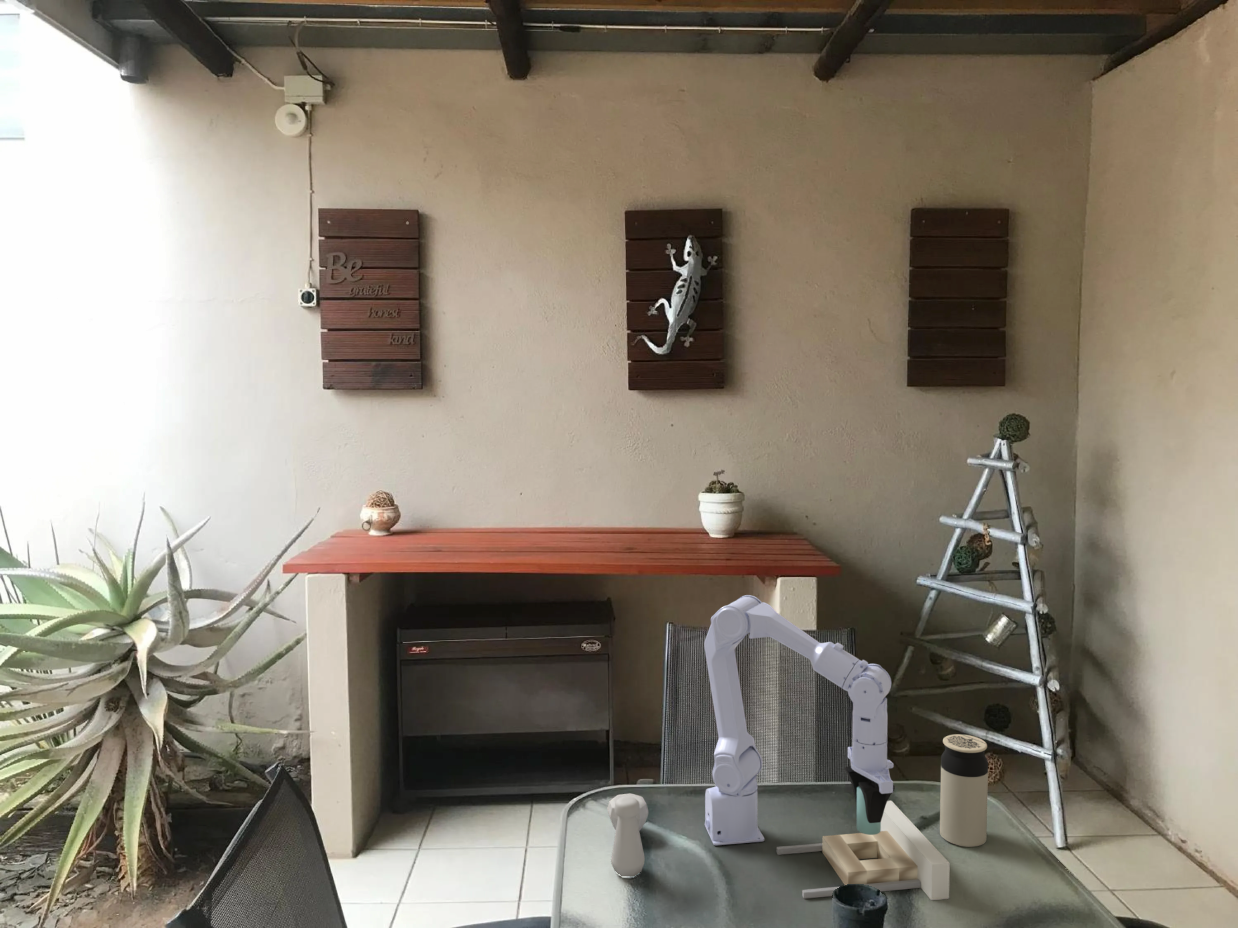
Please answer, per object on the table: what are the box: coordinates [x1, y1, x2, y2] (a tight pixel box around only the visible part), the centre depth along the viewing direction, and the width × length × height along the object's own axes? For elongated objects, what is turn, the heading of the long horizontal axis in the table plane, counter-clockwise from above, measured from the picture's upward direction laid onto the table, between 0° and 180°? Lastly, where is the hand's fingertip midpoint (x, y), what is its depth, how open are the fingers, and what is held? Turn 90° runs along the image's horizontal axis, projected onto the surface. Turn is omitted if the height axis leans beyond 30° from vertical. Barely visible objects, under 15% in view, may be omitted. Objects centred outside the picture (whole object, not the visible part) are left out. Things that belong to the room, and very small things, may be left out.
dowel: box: [856, 786, 881, 835], centre depth 156 cm, size 4×4×7 cm
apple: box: [606, 793, 649, 832], centre depth 170 cm, size 8×8×7 cm
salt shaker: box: [610, 796, 646, 876], centre depth 156 cm, size 6×6×13 cm
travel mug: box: [939, 733, 989, 848], centre depth 166 cm, size 8×8×18 cm
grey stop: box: [776, 800, 951, 901], centre depth 156 cm, size 23×22×6 cm
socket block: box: [821, 831, 918, 886], centre depth 157 cm, size 12×12×3 cm
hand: (868, 815), depth 156 cm, fingers closed on dowel, 4 cm apart
